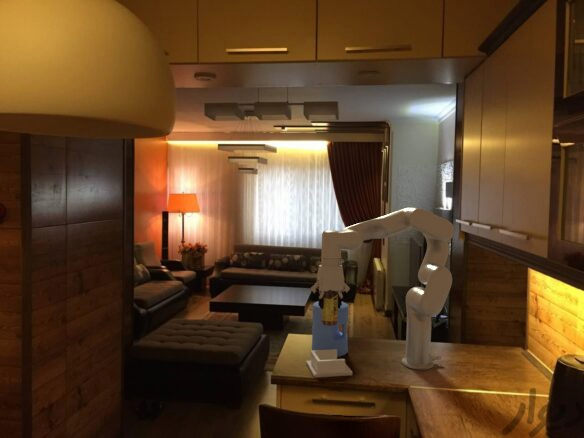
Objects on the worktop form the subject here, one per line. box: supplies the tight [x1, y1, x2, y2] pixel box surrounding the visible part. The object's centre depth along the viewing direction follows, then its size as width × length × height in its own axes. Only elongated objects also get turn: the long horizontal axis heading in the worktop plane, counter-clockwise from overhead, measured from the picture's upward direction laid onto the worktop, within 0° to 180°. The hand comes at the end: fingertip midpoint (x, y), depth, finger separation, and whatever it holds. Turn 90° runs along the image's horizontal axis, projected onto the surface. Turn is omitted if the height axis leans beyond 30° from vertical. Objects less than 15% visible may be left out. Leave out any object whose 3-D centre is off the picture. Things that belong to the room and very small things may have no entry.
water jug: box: [311, 300, 350, 358], centre depth 199 cm, size 16×16×28 cm
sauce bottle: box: [322, 290, 338, 326], centre depth 178 cm, size 7×6×20 cm
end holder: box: [305, 349, 353, 378], centre depth 180 cm, size 15×14×6 cm
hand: (329, 307), depth 179 cm, fingers closed on sauce bottle, 6 cm apart
